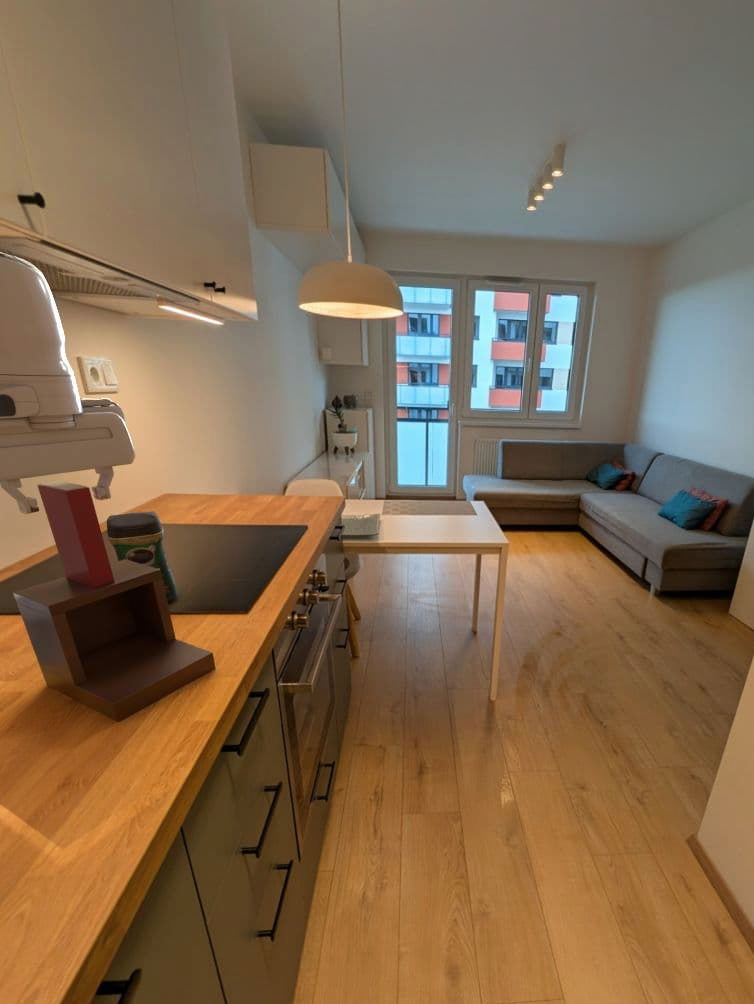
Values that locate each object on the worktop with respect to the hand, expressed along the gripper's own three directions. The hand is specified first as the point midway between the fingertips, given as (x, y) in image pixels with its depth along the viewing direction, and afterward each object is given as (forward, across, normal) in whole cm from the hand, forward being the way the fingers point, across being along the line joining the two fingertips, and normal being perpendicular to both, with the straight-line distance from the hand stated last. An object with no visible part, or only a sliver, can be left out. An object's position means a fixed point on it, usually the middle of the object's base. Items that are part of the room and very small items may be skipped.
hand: (68, 505), depth 71 cm
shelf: (+27, 0, +5) cm, 27 cm away
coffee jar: (+27, -20, -19) cm, 39 cm away
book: (+11, 0, 0) cm, 11 cm away
